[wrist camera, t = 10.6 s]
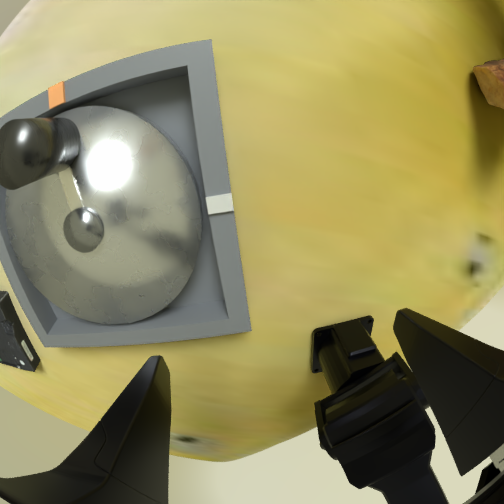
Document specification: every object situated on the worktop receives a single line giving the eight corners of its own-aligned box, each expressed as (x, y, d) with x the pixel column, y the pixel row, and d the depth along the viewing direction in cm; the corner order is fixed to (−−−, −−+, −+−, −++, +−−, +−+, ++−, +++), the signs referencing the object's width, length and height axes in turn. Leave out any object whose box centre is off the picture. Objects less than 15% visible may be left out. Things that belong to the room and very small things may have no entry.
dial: (227, 286, 21) (234, 351, 15) (67, 321, 21) (38, 374, 14) (170, 74, 14) (143, 42, 8) (0, 161, 14) (-57, 181, 7)
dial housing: (247, 307, 23) (252, 333, 20) (55, 328, 22) (43, 348, 19) (212, 52, 14) (211, 37, 11) (-7, 135, 13) (-31, 139, 10)
